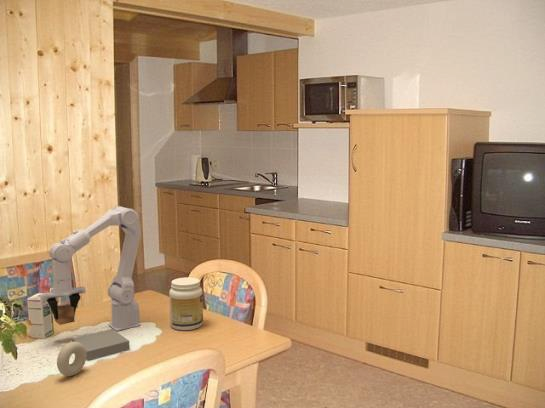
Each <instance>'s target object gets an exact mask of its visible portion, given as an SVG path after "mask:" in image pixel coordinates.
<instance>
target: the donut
mask: <svg viewBox="0 0 545 408" xmlns="http://www.w3.org/2000/svg"><path fill="white" fill-rule="evenodd" d="M73 354H74V358H73V361H72V362H71V363H70V358H71V357H72V355H73ZM86 354H87V353H86V349H85V347H84V346H83V345H82V344H81V343H79V342H72V341H71V342H69V343H66V344H65V345H63V347H62V348H61V349H60V351H59V352H58V355H57V359H56V367H57V370H58V371H59V373H60V374H62V375H63V376H65V377H72V376H75V375H77V374H78V373H80V372H81V370H82V369H83V367H84V366H85V364H86V362H87V360H86Z"/></svg>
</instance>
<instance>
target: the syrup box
mask: <svg viewBox="0 0 545 408" xmlns="http://www.w3.org/2000/svg"><path fill="white" fill-rule="evenodd" d="M40 294H44V292H43V293H36V294H34V295H32V296H30V297H27V299H26V301H27V313H28V321H29V320H30V321H31V323H32V324H33V326H30V325H28V328H29V337H30V338H33V339H44V340H45V339H46V338H47V337H49V336H50V335H52V334H54V332H55V330H54V329H55V328H54V327H55V326H54V315H53V312H52V310H51V307H50V305H49V304H48V302H47V300H45V301H41V300H40Z"/></svg>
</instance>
